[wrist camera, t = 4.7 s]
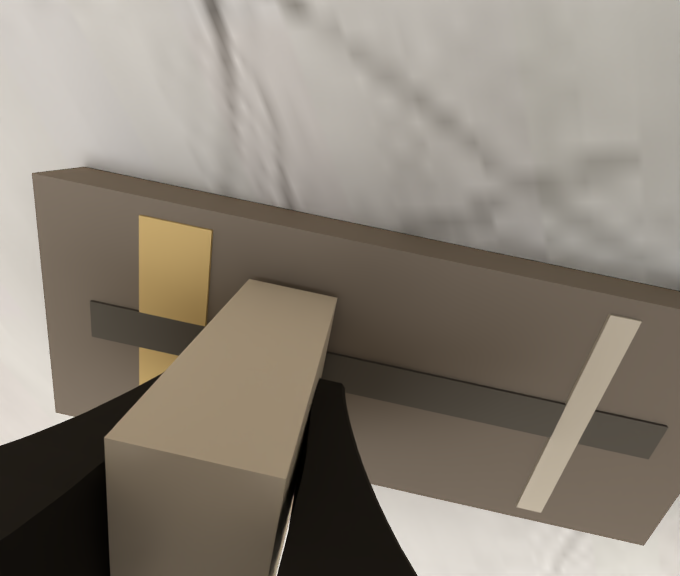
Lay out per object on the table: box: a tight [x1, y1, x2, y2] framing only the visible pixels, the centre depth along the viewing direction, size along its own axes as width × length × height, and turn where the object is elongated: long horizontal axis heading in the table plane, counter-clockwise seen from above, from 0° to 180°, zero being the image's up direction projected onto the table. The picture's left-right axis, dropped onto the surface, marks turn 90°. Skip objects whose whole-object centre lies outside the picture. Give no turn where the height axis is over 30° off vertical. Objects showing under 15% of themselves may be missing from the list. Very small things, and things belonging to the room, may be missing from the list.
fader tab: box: [104, 279, 337, 576], centre depth 9 cm, size 2×5×6 cm, turn 170°
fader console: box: [32, 167, 680, 546], centre depth 13 cm, size 20×8×2 cm, turn 80°
